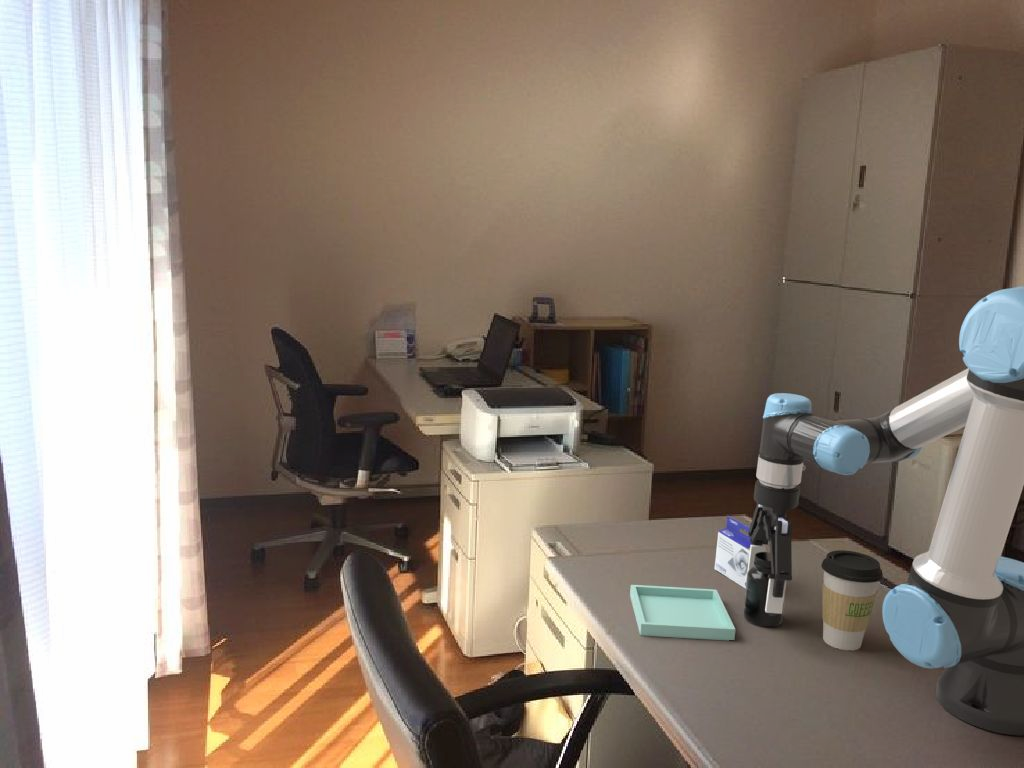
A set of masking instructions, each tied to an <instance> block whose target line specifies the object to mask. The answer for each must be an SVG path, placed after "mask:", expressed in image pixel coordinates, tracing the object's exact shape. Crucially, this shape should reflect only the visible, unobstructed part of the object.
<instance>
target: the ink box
mask: <svg viewBox="0 0 1024 768" xmlns="http://www.w3.org/2000/svg"><path fill="white" fill-rule="evenodd" d="M749 528H750V526H748V525H746V524H744V523H742V522H741V521H739V520H738V519H736V518H733V517H731V516H729V515H726V524H725V527H724V528H722V529H720V530H718V531H717V540H716V542H717V543H716V552H715V560H714V567H713V568H714V570H715V571H717V572H719V573H720V574H722V575H723V576H725V577H726V578H727V579H729V580H731V581H733V582H734V583H736V584H737V585H739V586H740V587H741V588H744V589H745V590H746V580H747V570H748V562H749V554H750V546H751V545H752V544H751V543H750V538H751V537H749V535H748V532H749ZM741 530H745V532H746V533H747V534H745V533H744V532H742V531H741ZM762 546H764V544H762Z"/></svg>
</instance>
